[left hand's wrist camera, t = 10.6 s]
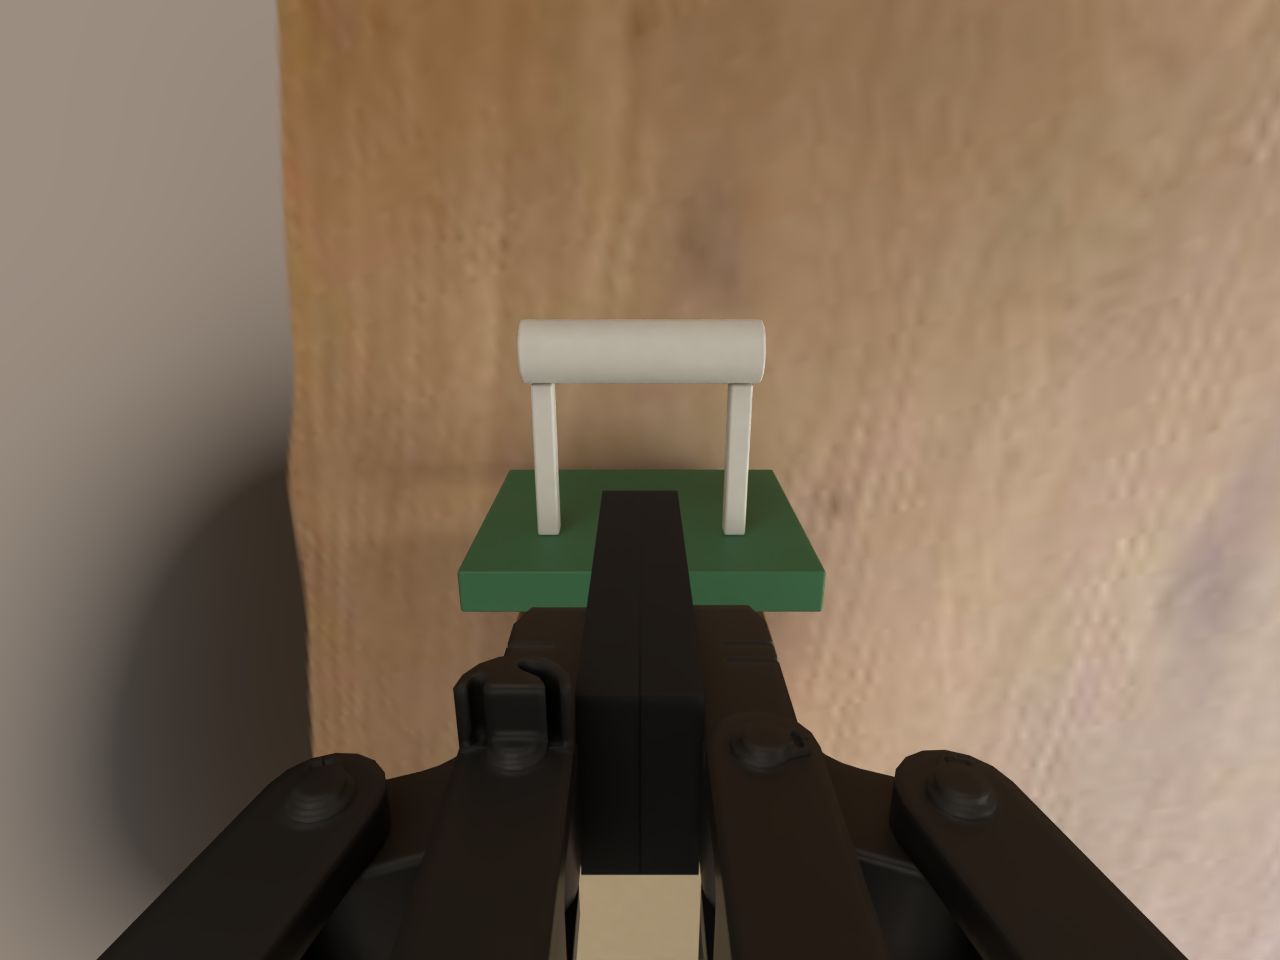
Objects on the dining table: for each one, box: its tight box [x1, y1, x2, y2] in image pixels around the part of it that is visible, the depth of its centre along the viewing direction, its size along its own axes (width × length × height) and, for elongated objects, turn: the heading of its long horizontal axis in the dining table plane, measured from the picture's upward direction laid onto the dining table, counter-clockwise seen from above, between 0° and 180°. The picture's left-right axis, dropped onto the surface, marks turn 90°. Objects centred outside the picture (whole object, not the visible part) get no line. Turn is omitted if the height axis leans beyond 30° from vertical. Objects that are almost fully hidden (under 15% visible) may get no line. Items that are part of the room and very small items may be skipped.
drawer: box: [458, 319, 826, 660], centre depth 24 cm, size 24×10×8 cm, turn 0°
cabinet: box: [576, 863, 701, 960], centre depth 28 cm, size 19×11×10 cm, turn 0°
